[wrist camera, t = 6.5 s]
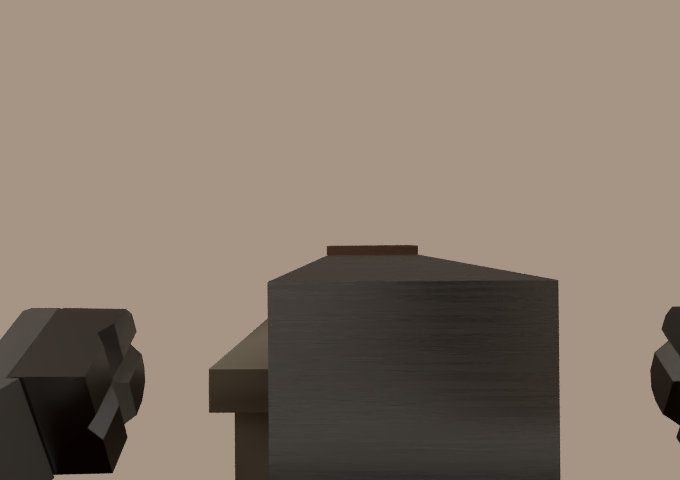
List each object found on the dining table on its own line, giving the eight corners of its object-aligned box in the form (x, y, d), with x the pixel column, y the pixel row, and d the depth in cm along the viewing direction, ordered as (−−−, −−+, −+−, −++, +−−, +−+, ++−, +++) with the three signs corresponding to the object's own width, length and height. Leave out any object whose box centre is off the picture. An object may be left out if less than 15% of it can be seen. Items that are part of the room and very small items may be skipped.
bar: (566, 524, 6) (562, 250, 6) (263, 523, 7) (262, 253, 7) (402, 306, 28) (402, 244, 28) (334, 307, 29) (333, 245, 29)
